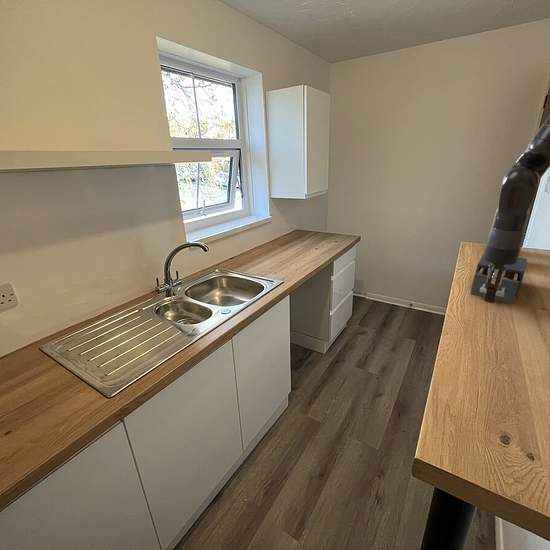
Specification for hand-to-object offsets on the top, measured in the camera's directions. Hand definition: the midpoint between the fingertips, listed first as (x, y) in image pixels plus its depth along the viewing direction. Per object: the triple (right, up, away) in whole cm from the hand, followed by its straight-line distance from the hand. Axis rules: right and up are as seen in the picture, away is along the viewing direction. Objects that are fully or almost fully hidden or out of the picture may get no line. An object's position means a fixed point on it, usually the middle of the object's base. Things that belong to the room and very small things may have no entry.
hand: (488, 301), depth 87 cm
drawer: (+9, +1, +11) cm, 14 cm away
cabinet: (+16, +4, +19) cm, 26 cm away
